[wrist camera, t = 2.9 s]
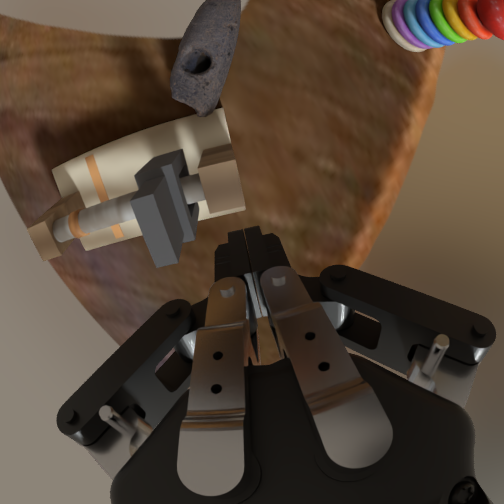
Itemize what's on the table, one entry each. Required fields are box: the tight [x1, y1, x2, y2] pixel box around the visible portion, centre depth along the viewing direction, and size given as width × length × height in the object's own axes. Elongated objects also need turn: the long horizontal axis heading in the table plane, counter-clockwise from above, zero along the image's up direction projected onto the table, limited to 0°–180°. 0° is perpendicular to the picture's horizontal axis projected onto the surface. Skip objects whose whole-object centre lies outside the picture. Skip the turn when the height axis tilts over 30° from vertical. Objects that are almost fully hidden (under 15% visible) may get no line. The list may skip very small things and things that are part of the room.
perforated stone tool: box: [170, 0, 241, 118], centre depth 19 cm, size 15×5×7 cm, turn 163°
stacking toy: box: [382, 0, 504, 52], centre depth 13 cm, size 8×8×19 cm
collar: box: [130, 149, 200, 267], centre depth 21 cm, size 6×3×10 cm, turn 10°
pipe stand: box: [27, 108, 245, 261], centre depth 25 cm, size 12×22×10 cm, turn 100°
